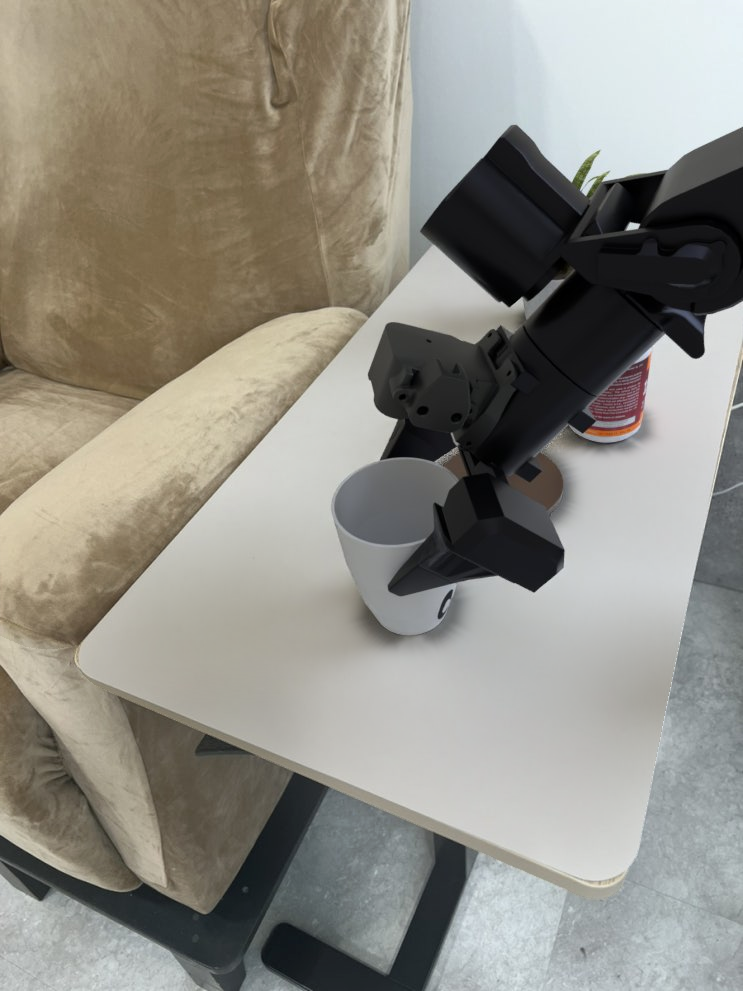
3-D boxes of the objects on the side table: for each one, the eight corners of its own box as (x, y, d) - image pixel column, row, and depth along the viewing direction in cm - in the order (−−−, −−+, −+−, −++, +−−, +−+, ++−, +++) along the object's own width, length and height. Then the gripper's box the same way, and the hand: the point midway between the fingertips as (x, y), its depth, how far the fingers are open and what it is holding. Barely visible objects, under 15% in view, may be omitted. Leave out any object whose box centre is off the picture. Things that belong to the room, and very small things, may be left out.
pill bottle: (655, 435, 64) (674, 316, 56) (585, 452, 63) (596, 334, 56) (619, 395, 68) (633, 281, 61) (554, 411, 68) (560, 297, 60)
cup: (472, 651, 50) (467, 543, 43) (348, 656, 50) (325, 550, 44) (466, 560, 56) (461, 453, 49) (355, 566, 56) (336, 461, 50)
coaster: (565, 450, 64) (565, 445, 63) (560, 535, 56) (560, 530, 56) (446, 444, 66) (445, 440, 66) (426, 525, 59) (426, 520, 58)
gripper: (420, 209, 45) (271, 397, 52) (501, 380, 31) (282, 607, 38) (547, 309, 50) (397, 467, 57) (667, 493, 36) (447, 673, 43)
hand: (382, 538), depth 49 cm, fingers open, 9 cm apart
